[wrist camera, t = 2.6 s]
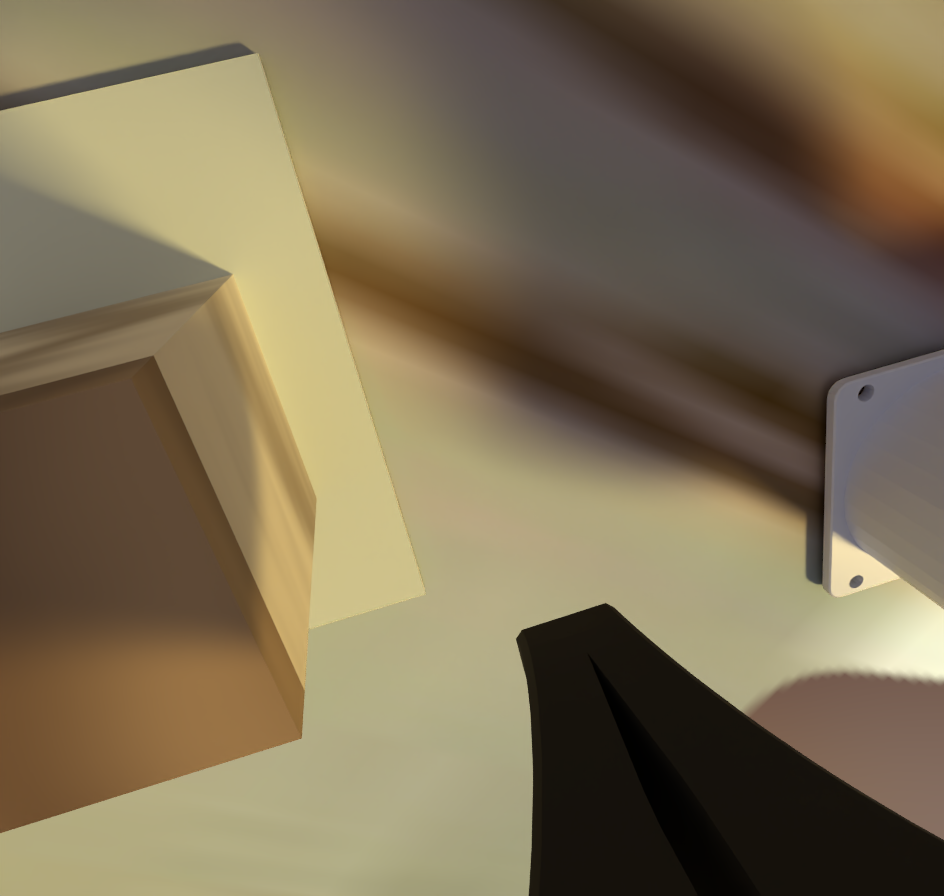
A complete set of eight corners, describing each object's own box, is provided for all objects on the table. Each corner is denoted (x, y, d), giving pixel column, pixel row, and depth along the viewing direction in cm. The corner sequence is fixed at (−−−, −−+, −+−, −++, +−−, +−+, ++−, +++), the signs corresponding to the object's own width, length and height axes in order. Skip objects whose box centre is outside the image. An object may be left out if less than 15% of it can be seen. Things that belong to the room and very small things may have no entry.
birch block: (233, 274, 15) (130, 378, 7) (316, 498, 17) (301, 738, 10) (-39, 342, 14) (-431, 526, 7) (89, 563, 17) (-100, 864, 9)
